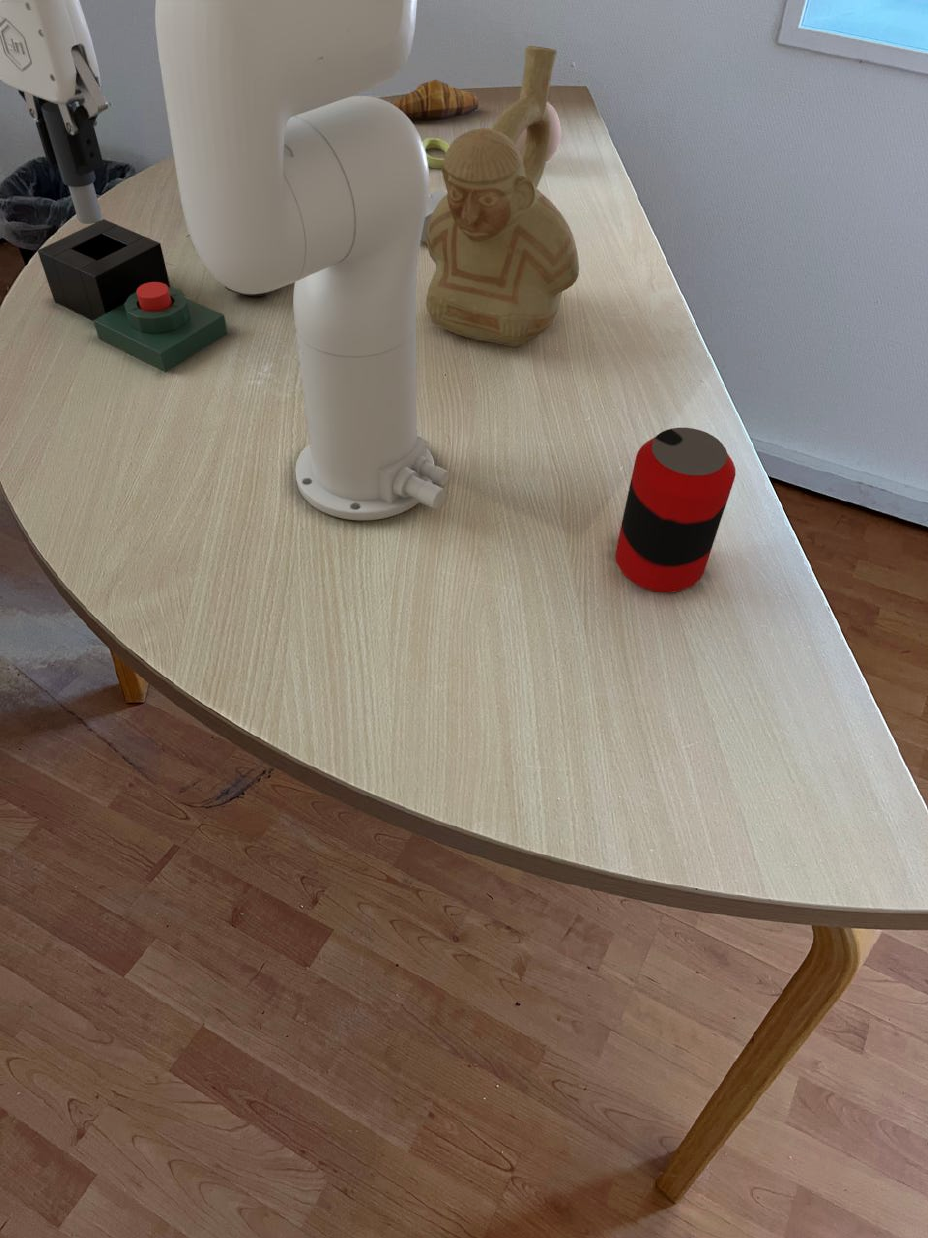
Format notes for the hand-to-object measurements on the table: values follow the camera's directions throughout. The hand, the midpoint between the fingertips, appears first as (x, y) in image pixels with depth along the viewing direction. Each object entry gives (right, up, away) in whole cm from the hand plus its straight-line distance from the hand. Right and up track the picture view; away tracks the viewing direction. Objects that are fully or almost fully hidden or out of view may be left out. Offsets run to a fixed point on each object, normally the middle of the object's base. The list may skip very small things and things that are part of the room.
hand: (75, 163), depth 92 cm
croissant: (+34, +30, +47) cm, 66 cm away
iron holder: (0, -10, +11) cm, 15 cm away
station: (+7, -15, +6) cm, 18 cm away
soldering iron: (0, -4, +4) cm, 6 cm away
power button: (+7, -13, +4) cm, 15 cm away
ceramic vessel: (+43, -12, +11) cm, 46 cm away
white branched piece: (+39, +3, +24) cm, 46 cm away
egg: (+48, +18, +37) cm, 64 cm away
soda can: (+55, -41, -14) cm, 70 cm away
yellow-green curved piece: (+32, +19, +37) cm, 52 cm away
